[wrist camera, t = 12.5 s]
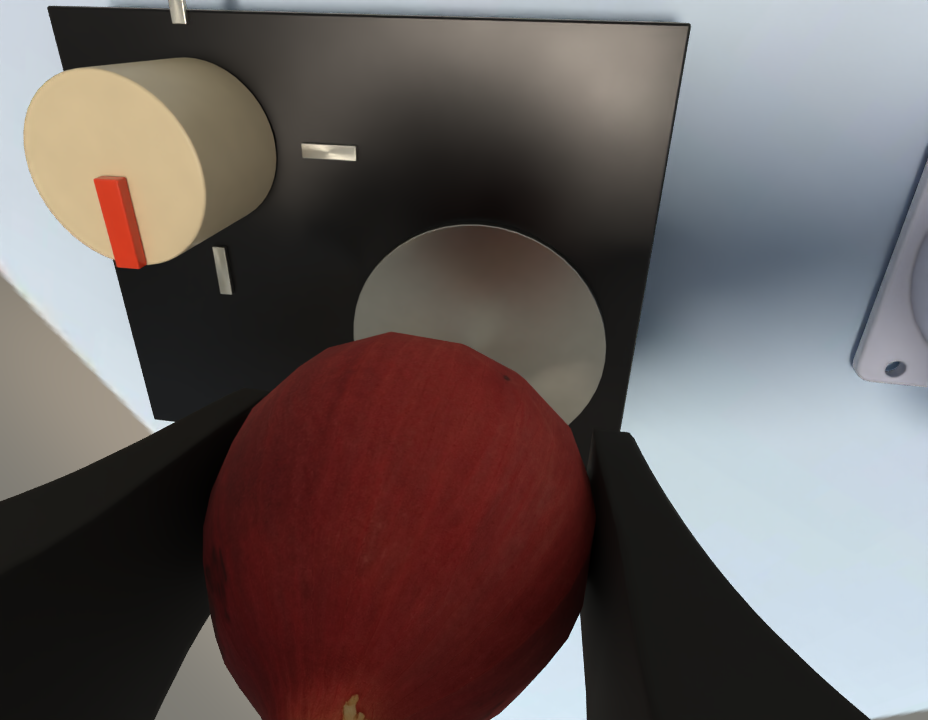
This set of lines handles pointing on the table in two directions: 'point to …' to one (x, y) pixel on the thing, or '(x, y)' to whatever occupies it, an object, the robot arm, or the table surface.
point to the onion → (396, 536)
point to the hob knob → (148, 155)
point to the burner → (493, 305)
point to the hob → (398, 173)
